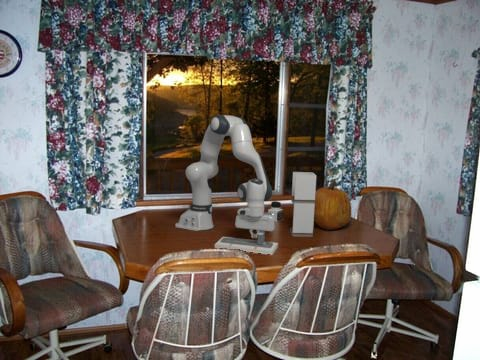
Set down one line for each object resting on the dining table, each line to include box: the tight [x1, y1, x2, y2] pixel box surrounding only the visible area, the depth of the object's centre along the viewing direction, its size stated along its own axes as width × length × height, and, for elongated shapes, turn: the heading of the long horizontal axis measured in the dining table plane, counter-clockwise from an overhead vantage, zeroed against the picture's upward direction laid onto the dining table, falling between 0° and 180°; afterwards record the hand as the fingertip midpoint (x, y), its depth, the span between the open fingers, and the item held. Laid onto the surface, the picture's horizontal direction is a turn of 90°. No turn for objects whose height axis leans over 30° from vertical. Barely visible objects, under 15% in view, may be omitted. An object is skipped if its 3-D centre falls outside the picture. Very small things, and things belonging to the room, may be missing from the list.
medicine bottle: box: [267, 200, 284, 223], centre depth 286 cm, size 7×7×12 cm
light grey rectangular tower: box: [289, 171, 317, 238], centre depth 256 cm, size 11×11×35 cm
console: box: [214, 236, 279, 256], centre depth 231 cm, size 30×14×3 cm, turn 74°
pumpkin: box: [314, 178, 352, 231], centre depth 271 cm, size 26×23×30 cm
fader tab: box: [257, 230, 266, 245], centre depth 229 cm, size 4×5×7 cm
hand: (254, 237), depth 230 cm, fingers closed
